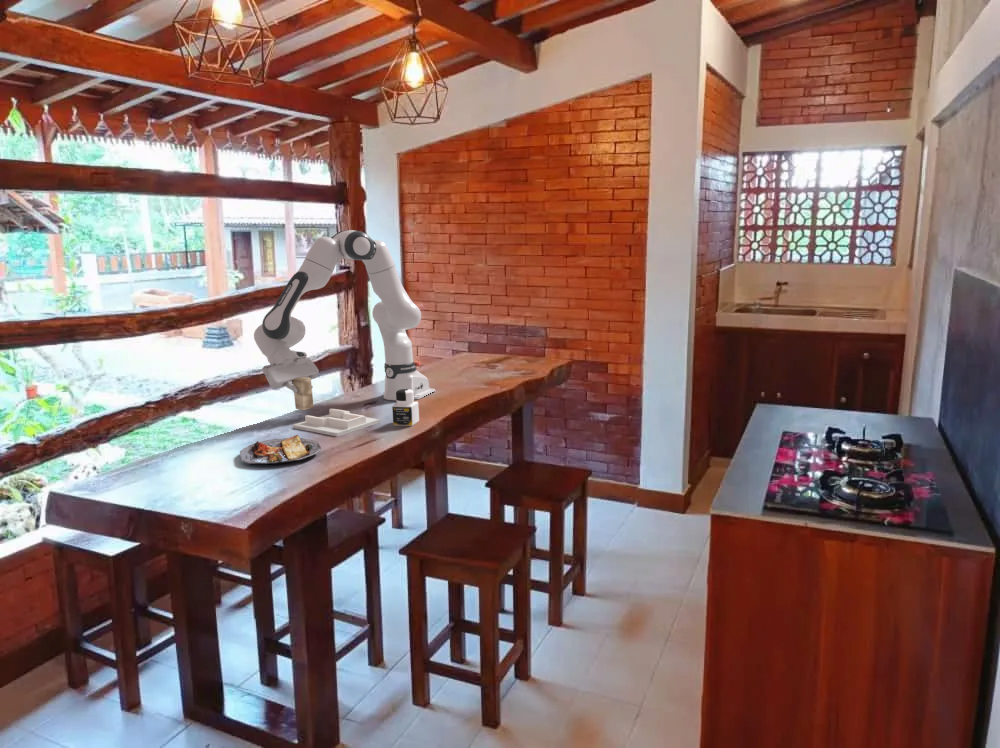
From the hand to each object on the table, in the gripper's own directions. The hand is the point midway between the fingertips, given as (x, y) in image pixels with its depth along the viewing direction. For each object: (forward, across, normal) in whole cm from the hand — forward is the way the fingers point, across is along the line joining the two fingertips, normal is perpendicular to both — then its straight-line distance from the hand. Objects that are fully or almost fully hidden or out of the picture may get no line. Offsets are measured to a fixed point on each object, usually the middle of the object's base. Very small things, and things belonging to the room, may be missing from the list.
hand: (304, 390), depth 265 cm
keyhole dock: (+19, 0, -4) cm, 20 cm away
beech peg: (+4, 0, +5) cm, 7 cm away
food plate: (+27, -34, -12) cm, 45 cm away
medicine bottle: (+34, +14, -18) cm, 40 cm away
